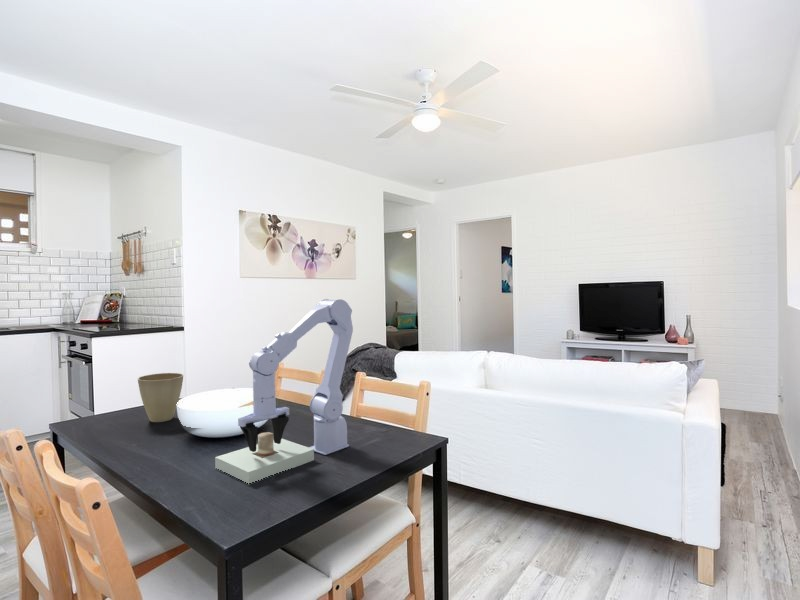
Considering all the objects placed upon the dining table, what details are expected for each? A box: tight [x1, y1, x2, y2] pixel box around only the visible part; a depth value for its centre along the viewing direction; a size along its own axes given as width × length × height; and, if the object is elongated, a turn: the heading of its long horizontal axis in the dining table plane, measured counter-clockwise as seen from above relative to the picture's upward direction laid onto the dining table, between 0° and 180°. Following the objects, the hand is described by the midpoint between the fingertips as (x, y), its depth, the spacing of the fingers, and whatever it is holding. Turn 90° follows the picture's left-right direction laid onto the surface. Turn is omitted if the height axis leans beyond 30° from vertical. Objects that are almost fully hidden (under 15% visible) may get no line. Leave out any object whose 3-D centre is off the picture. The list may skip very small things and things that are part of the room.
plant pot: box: [137, 372, 184, 423], centre depth 167 cm, size 15×15×16 cm
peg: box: [257, 431, 274, 458], centre depth 122 cm, size 4×4×8 cm
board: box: [214, 438, 315, 485], centre depth 122 cm, size 20×16×3 cm
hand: (265, 446), depth 122 cm, fingers open, 7 cm apart
